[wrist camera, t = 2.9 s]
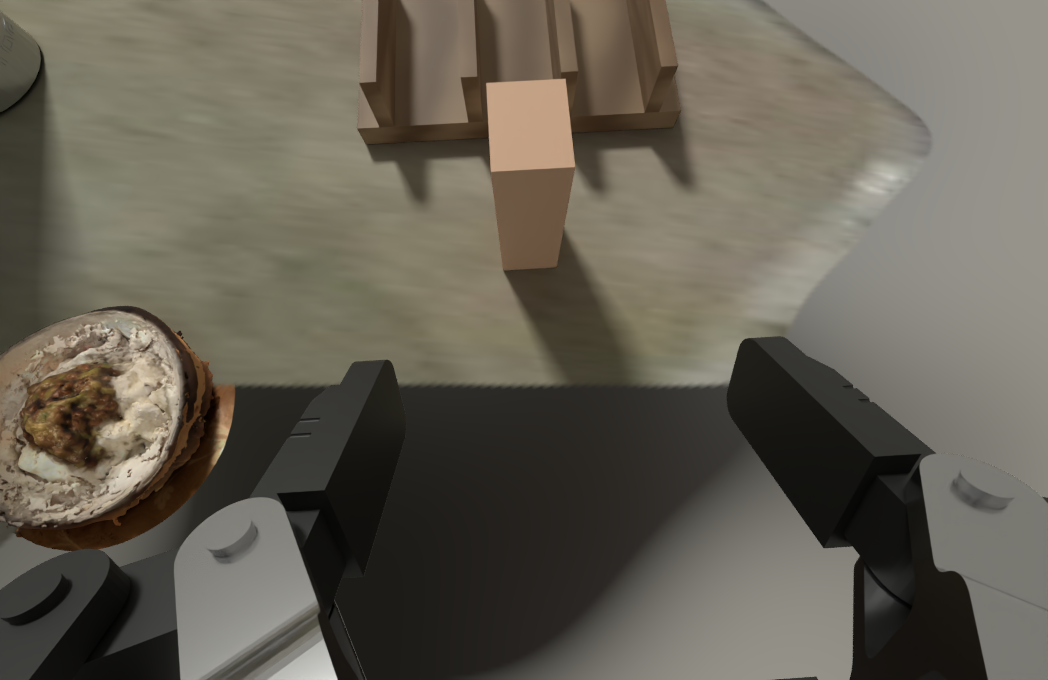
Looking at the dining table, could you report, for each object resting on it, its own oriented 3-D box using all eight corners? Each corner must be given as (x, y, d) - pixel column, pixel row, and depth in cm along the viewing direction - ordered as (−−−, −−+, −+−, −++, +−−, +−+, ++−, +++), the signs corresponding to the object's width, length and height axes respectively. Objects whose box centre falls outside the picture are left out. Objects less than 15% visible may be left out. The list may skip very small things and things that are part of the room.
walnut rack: (365, 144, 29) (333, 84, 24) (370, 13, 32) (342, -64, 27) (672, 127, 29) (702, 64, 24) (649, -1, 32) (672, -80, 27)
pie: (-3, 324, 26) (-101, 302, 22) (232, 279, 27) (180, 250, 23) (-30, 573, 23) (-151, 602, 18) (242, 513, 23) (183, 529, 19)
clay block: (503, 270, 26) (490, 171, 17) (499, 209, 27) (486, 82, 18) (556, 267, 26) (575, 166, 17) (551, 206, 28) (565, 78, 18)
